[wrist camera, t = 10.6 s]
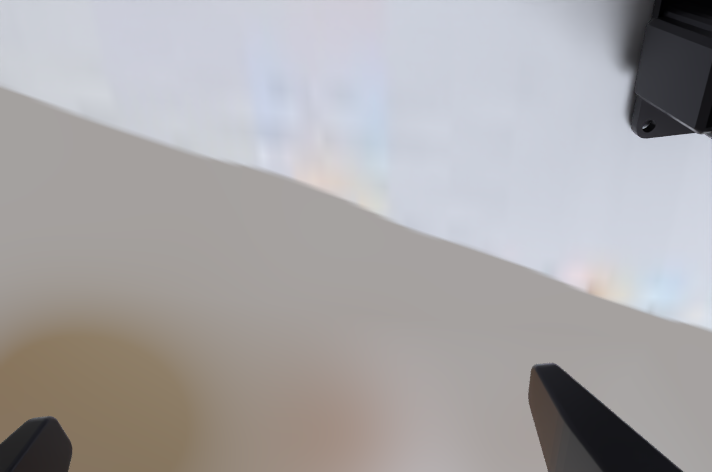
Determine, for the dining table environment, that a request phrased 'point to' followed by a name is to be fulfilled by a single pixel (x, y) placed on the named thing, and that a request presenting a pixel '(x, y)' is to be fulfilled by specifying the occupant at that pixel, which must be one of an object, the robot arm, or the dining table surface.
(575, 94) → the dining table surface
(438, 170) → the dining table surface
